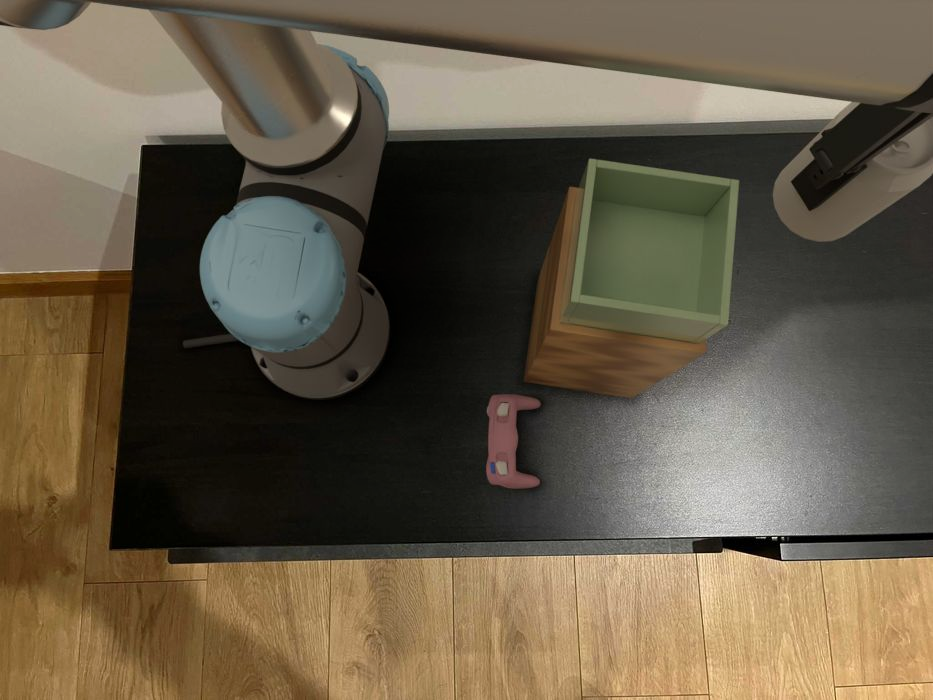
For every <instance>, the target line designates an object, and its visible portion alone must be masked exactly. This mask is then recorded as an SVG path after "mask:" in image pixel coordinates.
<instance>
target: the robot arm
mask: <svg viewBox="0 0 933 700" xmlns="http://www.w3.org/2000/svg"><path fill="white" fill-rule="evenodd" d="M91 3H92V4H93V3H94V4H101V5H108V6H116V7H123V8H132V9H139V10H140V9H141V10H147V11H149V13H150V14H151V15H152V16H153V17H154V19H155V20H156V21H157V23H158V24H159V25H160V26H161V27H162V29H163V30H164V31H165V33H166V34H167V35H168V36H169V38H170V39H171V40H172V42H174V44H175V46H177V48H178V49H179V50H180V51H181V53H182V54H183V55H184V56H185V58H186V59H187V60H188V61H189V62H190V64H191V65H192V66H193V68H194V69H195V70H196V71H197V73H198V74H199V75H200V76H201V78H202V79H203V81H204V82H205V83H206V84H207V85H208V87H209V88H210V89H211V90H212V92H213V93H214V94H215V96H216V97H217V98H218V99H219V100H220V101H221V109H220V110H221V111H220V115H221V122H222V126H223V131H224V133H225V135H226V137H227V139H228V140H229V142H230V144H231V145H232V147H233V148H234V149H235V150H236V151H237V152H238V153H239V155H240V156H241V157H242V158H243V160H245V167H244V171H243V175H242V178H241V183H240V186H239V190H238V194H237V199H236V202H235V205H234V206H233V209H232V210H231V211H230V212H229V213H227V214H226V215H225V214H224V215H221V216H220V217H219V218H218V219H217V220H216V222H215V223H214V224H213V226H212V227H211V229H210V230H209V232H208V234H207V236H206V238H205V240H204V243H203V246H202V249H201V253H200V259H199V277H200V284H201V285H200V286H201V289H202V291H203V295H204V297H205V300H206V303H208V306H209V308H210V309H211V311H212V312H213V314H214V315H215V316H216V317H217V318H218V320H219V321H220V323H222V325H223V327H224V328H225V329H226V331H228V332H229V333H226V334H218V335H211V336H205V337H197V338H191V339H185V340H183V341H182V346H183V348H184V349H193V348H198V347H199V348H200V347H206V346H213V345H220V344H227V343H233V342H241V343H243V344H244V345H246V346H248V347H250V349H251V353H252V355H253V358H254V361H255V363H256V365H257V366H258V368H259V369H260V371H261V372H262V373H263V375H264V376H265V377H266V378H267V379H268V380H269V381H270V382H271V383H272V384H274V385H275V386H277V387H278V388H279V389H281V390H283V391H284V392H287V393H288V394H290V395H292V396H295V397H298V398H302V399H305V400H313V401H325V400H332V399H333V400H334V399H338V398H341V397H345V396H346V395H349V394H351V393H353V392H355V391H357V390H358V389H360V388H362V387H363V386H364V385H365V384H366V383H368V381H370V380H371V379H372V378H373V377H374V375H376V373H377V372H378V370H379V369H380V367H381V366H382V364H383V363H384V360H385V358H386V355H387V353H388V350H389V346H390V343H391V330H392V329H391V320H390V316H389V312H388V309H387V305H386V303H385V300H384V299H383V297H382V295H381V293H380V291H379V290H378V289H377V287H376V286H375V285H374V284H373V283H372V282H371V280H369V279H368V278H367V277H365V276H364V275H363V274H362V273H360V272H358V271H359V265H360V261H361V257H362V251H363V246H364V242H365V237H366V231H367V228H368V223H369V218H370V214H371V208H372V204H373V199H374V195H375V190H376V185H377V181H378V175H379V170H380V167H381V166H380V165H381V161H382V156H383V151H384V149H385V147H386V144H387V141H388V137H389V136H388V135H389V133H390V132H389V130H390V127H389V126H390V124H389V123H390V122H389V118H390V105H389V98H388V94H387V92H386V89H385V87H384V86H383V84H382V82H381V80H380V79H379V78H378V76H377V75H376V74H375V73H374V72H373V71H372V69H370V67H369V66H367V65H359V64H358V60H357V58H356V57H355V56H354V55H352V54H350V53H348V52H346V51H344V50H341V49H339V48H335V47H333V46H330V45H327V44H321V43H318V42H317V41H316V39H315V37H314V35H313V33H312V32H316V33H322V34H331V35H338V36H344V37H345V36H346V37H354V38H360V39H368V40H376V41H384V42H391V43H399V44H406V45H407V44H409V45H415V46H422V47H428V48H429V47H430V48H439V49H446V50H453V51H460V52H468V53H475V54H476V53H477V54H483V55H490V56H497V57H505V58H514V59H521V60H529V61H537V62H546V63H553V64H560V65H568V66H575V67H582V68H591V69H598V70H606V71H613V72H621V73H628V74H637V75H645V76H652V77H659V78H667V79H674V80H682V81H689V82H697V83H703V84H704V83H705V84H713V85H718V86H719V85H720V86H728V87H735V88H743V89H750V90H758V91H766V92H774V93H782V94H789V95H798V96H805V97H813V98H820V99H828V100H836V101H843V102H850V103H851V102H857V103H860V104H859V105H858V106H857V107H855V108H854V109H853V110H852V111H851V112H850V113H849V114H848V115H846V116H845V117H844V118H843V119H842V120H841V121H840V122H839V123H837V124H836V125H835V126H834V127H833V128H830V129H827V130H824V131H823V132H822V133H821V135H822V138H821V139H819V140H818V141H816V142H815V143H814V144H813V146H812V147H810V149H809V150H810V152H811V153H812V155H813V157H814V158H815V159H814V160H813V161H812V162H810V163H809V164H808V165H807V166H806V167H805V168H804V169H803V170H802V171H801V172H800V173H799V174H798V175H797V176H796V177H795V178H794V179H793V180H792V181H790V182H791V183H792V185H793V186H794V188H795V190H796V191H797V193H798V194H799V196H800V197H801V199H802V201H803V202H804V204H805V205H806V207H807V209H808V210H809V211H811V210H813V209H815V208H818V207H819V206H820V205H821V204H823V203H824V202H825V201H826V200H828V199H829V198H830V197H831V196H832V195H834V194H835V193H836V192H837V191H839V190H840V189H841V188H842V187H844V186H845V185H846V184H847V183H849V182H850V181H851V180H852V179H854V178H855V177H856V176H857V175H859V174H860V173H861V172H862V171H863V170H865V169H866V168H867V165H866V164H865V163H867V162H868V161H870V160H871V159H873V158H874V157H875V156H877V155H878V154H880V153H881V152H883V151H884V150H886V149H887V148H888V147H890V146H891V145H893V144H894V143H896V142H897V141H899V140H900V139H901V138H903V137H904V136H906V135H907V134H909V133H910V132H912V131H913V130H914V129H916V128H917V127H919V126H920V125H922V124H923V123H925V122H926V121H927V120H929V119H930V118H932V117H933V0H0V26H4V27H9V28H18V29H25V30H26V29H27V30H28V29H29V30H39V31H41V30H42V31H47V30H54V29H59V28H61V27H64V26H67V25H69V24H70V23H72V22H73V21H75V20H76V19H77V18H79V17H80V16H81V15H82V14H83V13H84V12H85V11H86V10H87V9H88V8H89V6H90V5H91Z"/></svg>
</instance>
